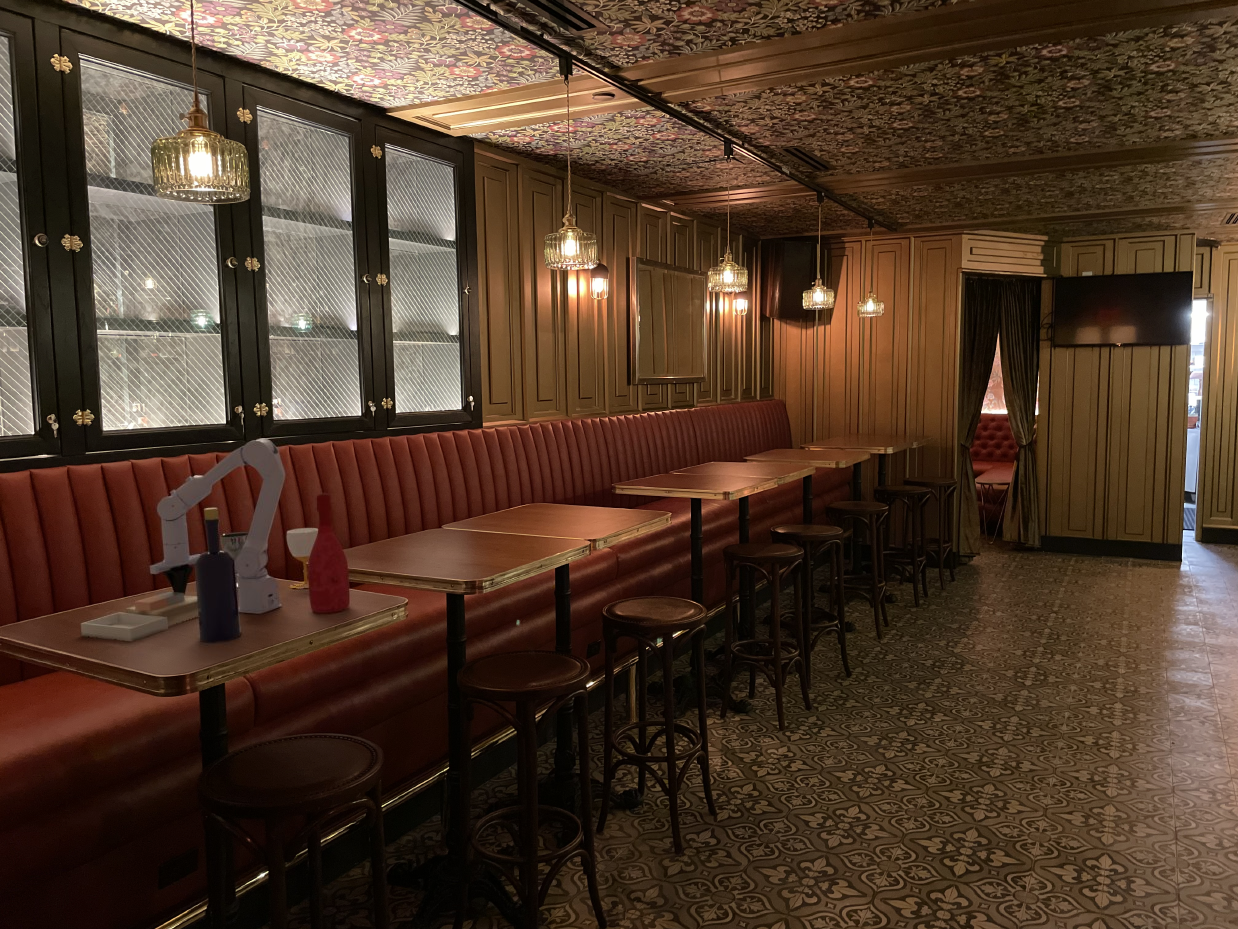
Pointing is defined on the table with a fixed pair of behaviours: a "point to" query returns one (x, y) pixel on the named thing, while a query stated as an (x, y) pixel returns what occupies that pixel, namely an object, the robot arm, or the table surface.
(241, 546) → the wine glass
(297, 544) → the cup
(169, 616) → the board
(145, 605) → the terracotta tile
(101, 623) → the box
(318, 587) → the wine bottle
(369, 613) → the table surface
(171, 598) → the slate tile
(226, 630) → the bottle
